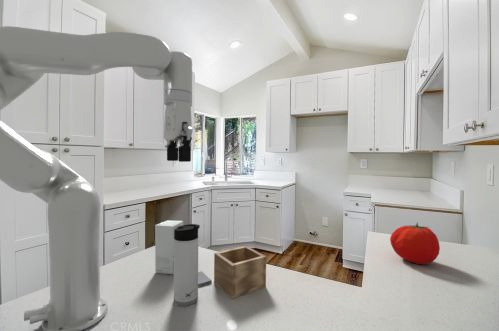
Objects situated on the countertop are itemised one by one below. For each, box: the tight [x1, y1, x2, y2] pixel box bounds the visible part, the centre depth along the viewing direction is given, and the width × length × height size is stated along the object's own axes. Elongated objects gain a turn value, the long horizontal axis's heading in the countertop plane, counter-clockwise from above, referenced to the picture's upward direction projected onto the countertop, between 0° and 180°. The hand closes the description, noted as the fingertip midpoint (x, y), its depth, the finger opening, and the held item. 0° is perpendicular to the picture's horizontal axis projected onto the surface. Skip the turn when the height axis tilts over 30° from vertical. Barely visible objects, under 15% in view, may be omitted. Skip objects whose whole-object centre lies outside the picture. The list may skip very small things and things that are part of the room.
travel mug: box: [173, 223, 200, 307], centre depth 67 cm, size 6×7×20 cm
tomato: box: [389, 222, 441, 265], centre depth 94 cm, size 16×14×14 cm
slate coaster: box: [198, 271, 212, 288], centre depth 77 cm, size 7×7×1 cm
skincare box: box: [154, 219, 184, 275], centre depth 85 cm, size 8×7×16 cm
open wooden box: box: [213, 245, 267, 299], centre depth 75 cm, size 12×10×9 cm
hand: (178, 161), depth 71 cm, fingers open, 9 cm apart
